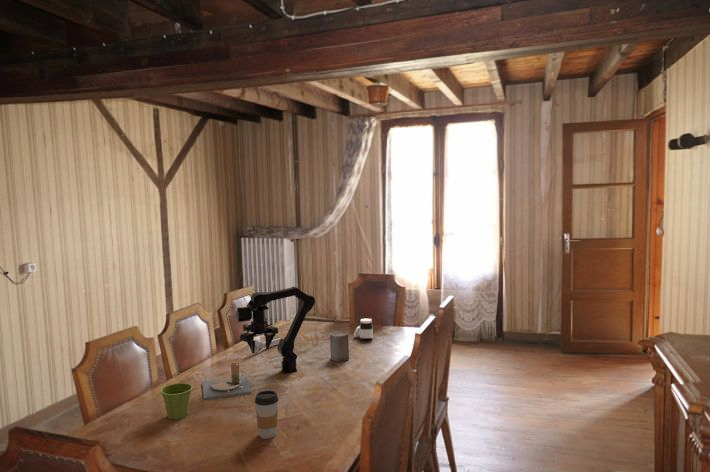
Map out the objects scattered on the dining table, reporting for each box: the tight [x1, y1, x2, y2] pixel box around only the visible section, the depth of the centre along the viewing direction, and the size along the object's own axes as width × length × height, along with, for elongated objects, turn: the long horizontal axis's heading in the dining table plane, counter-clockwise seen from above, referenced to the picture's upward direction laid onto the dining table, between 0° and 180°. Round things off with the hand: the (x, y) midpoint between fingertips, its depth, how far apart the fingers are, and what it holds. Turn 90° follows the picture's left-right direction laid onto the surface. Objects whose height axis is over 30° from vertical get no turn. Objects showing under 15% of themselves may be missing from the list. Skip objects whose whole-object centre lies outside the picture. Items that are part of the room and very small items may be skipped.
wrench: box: [250, 337, 284, 355], centre depth 274 cm, size 8×2×30 cm
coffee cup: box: [254, 390, 279, 440], centre depth 174 cm, size 8×8×15 cm
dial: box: [211, 362, 241, 391], centre depth 218 cm, size 13×13×10 cm
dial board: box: [202, 375, 253, 401], centre depth 219 cm, size 20×20×2 cm
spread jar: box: [353, 318, 374, 342], centre depth 291 cm, size 12×11×12 cm
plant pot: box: [160, 382, 194, 420], centre depth 191 cm, size 12×12×11 cm
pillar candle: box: [329, 330, 350, 363], centre depth 255 cm, size 10×10×15 cm
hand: (260, 351), depth 233 cm, fingers open, 8 cm apart
